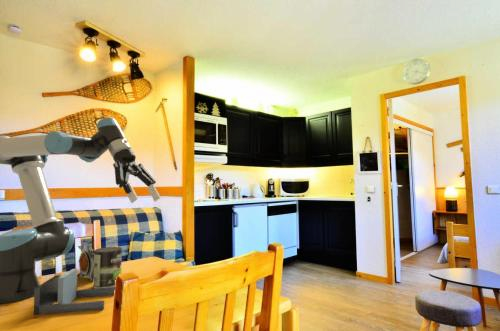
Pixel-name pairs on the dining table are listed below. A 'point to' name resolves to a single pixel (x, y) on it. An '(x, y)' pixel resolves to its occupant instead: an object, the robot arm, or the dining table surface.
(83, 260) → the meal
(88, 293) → the lane
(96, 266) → the coffee can
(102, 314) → the dining table surface
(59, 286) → the pusher plate
